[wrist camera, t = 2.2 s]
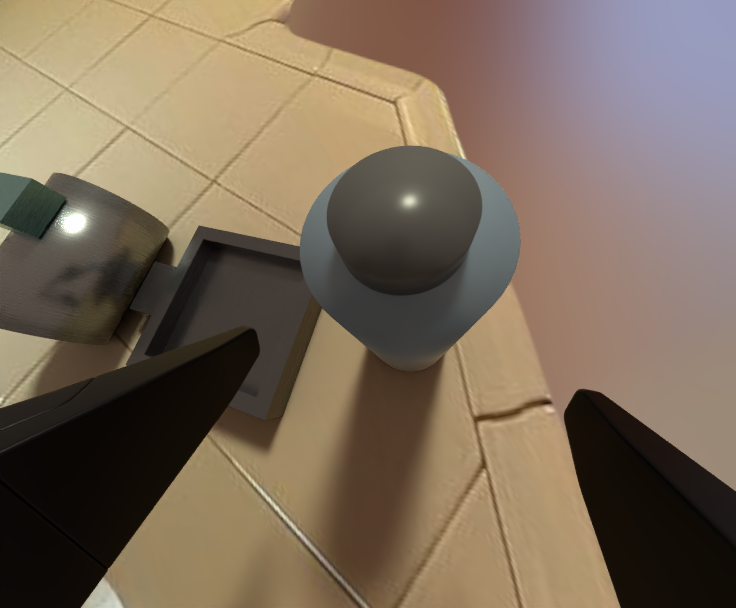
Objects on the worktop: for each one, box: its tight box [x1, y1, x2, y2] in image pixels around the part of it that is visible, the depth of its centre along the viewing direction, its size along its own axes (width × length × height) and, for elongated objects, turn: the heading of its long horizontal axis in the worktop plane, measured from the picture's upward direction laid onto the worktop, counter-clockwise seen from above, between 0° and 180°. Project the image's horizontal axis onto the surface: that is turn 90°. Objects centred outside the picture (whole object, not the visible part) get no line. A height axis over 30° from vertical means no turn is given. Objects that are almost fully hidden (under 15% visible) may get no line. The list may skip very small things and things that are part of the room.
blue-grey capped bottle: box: [300, 146, 521, 372], centre depth 11 cm, size 5×5×13 cm
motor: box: [0, 173, 322, 421], centre depth 17 cm, size 11×21×8 cm, turn 73°
